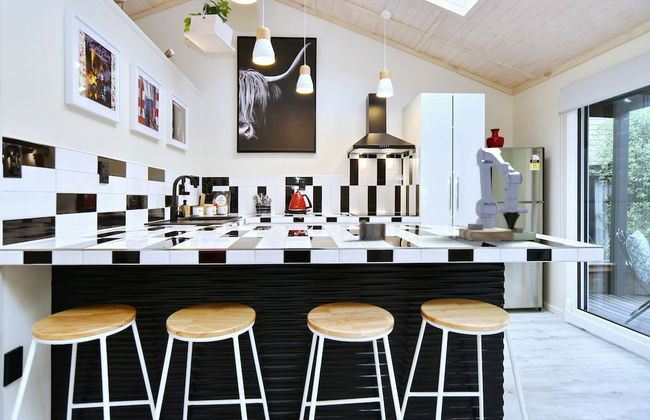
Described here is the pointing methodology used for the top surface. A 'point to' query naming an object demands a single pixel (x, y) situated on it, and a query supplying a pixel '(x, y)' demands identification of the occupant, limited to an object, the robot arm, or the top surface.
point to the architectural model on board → (372, 231)
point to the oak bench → (486, 234)
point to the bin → (524, 236)
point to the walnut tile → (517, 230)
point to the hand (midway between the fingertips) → (510, 229)
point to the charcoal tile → (475, 226)
